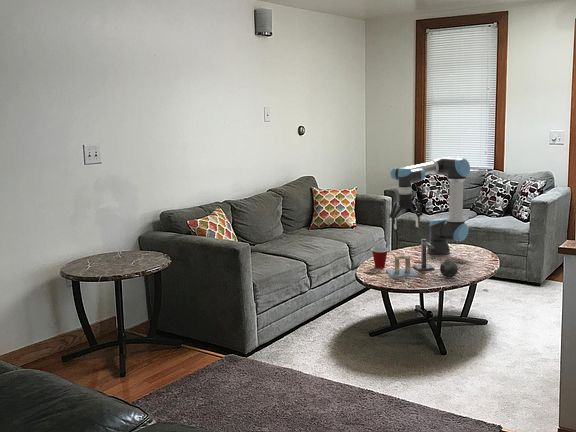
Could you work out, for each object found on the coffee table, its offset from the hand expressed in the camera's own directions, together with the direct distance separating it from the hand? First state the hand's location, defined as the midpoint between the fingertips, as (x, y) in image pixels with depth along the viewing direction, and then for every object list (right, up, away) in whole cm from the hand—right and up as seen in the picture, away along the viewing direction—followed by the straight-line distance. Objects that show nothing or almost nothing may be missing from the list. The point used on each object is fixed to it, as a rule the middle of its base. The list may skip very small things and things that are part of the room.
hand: (406, 227), depth 383 cm
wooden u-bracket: (-4, -27, -7) cm, 28 cm away
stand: (+12, -26, -2) cm, 29 cm away
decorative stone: (+22, -29, -17) cm, 40 cm away
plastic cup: (-14, -25, +12) cm, 31 cm away
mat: (-4, -28, -6) cm, 29 cm away
